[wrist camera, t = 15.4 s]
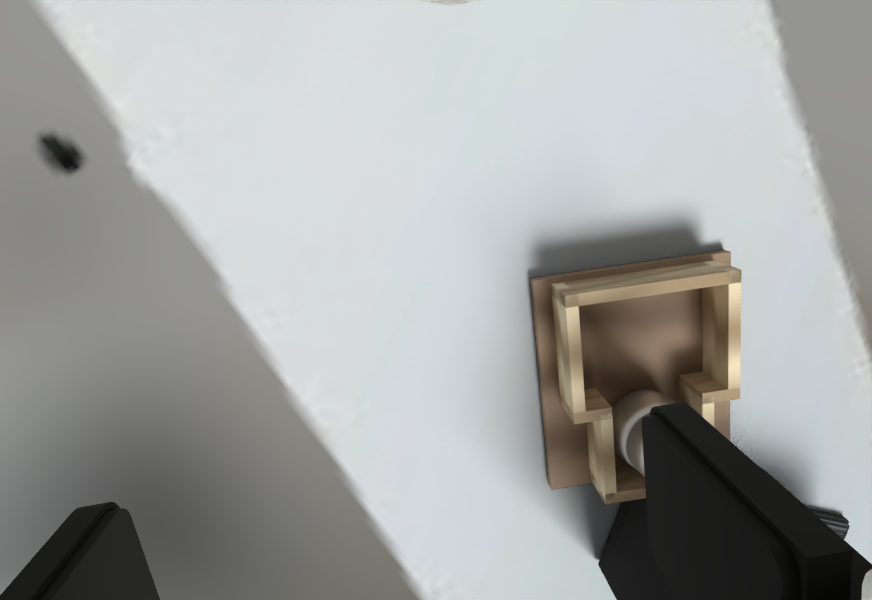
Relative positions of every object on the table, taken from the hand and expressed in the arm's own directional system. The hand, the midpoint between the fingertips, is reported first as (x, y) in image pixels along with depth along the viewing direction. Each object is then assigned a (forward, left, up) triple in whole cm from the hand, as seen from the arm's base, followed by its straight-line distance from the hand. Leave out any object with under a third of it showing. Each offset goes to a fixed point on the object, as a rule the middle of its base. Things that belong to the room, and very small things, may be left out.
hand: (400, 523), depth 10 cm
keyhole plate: (+16, +19, -38) cm, 45 cm away
